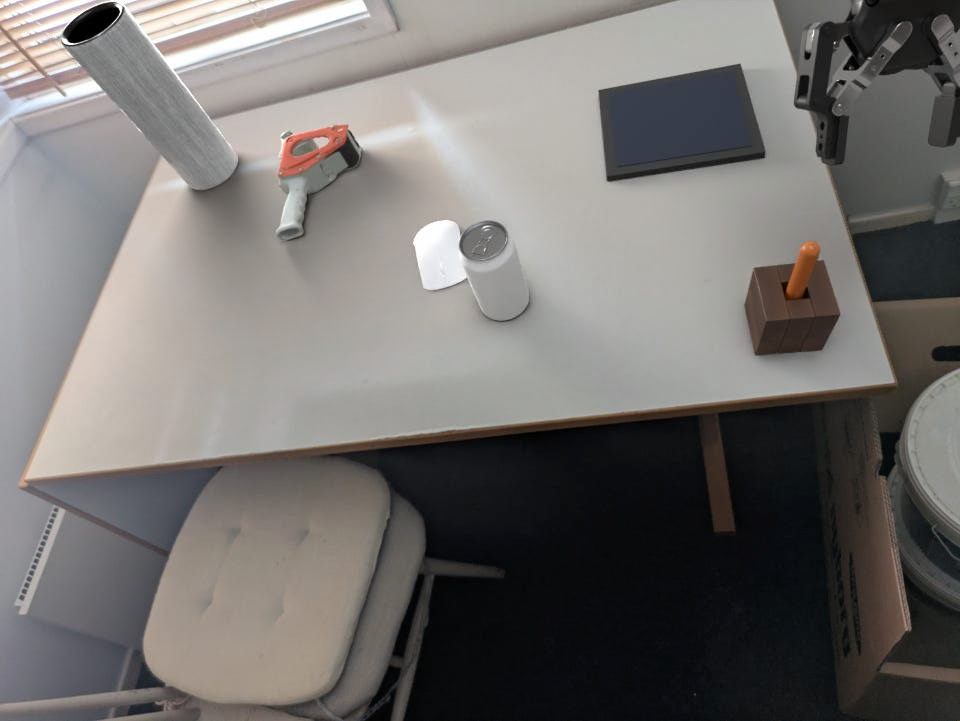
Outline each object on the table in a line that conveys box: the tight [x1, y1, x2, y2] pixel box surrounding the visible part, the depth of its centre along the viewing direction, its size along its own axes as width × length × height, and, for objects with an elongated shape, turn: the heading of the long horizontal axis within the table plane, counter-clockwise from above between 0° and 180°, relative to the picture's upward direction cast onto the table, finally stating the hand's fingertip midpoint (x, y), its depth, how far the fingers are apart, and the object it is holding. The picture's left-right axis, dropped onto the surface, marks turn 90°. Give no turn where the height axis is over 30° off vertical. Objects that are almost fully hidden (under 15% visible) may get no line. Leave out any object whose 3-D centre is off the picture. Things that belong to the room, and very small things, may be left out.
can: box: [459, 219, 530, 322], centre depth 70 cm, size 6×6×12 cm
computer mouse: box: [412, 219, 468, 291], centre depth 80 cm, size 7×12×2 cm, turn 11°
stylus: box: [784, 240, 822, 301], centre depth 58 cm, size 2×2×14 cm
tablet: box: [597, 63, 767, 182], centre depth 82 cm, size 20×18×1 cm
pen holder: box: [743, 259, 841, 356], centre depth 61 cm, size 7×7×7 cm
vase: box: [60, 0, 239, 191], centre depth 92 cm, size 10×10×27 cm
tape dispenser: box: [274, 124, 363, 241], centre depth 93 cm, size 18×5×20 cm
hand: (886, 154), depth 47 cm, fingers open, 8 cm apart
